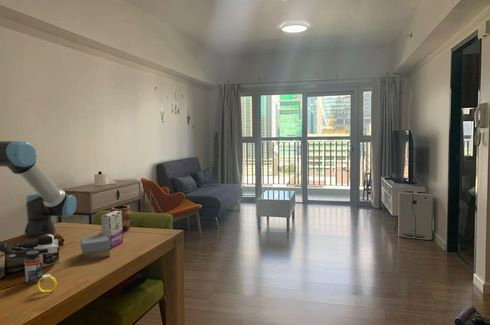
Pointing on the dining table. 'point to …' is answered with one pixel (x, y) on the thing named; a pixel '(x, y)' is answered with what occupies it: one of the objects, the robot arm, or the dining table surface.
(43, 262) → the medicine bottle
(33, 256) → the supplement bottle
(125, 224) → the decorative planter
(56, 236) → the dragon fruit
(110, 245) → the candy bar box
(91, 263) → the dining table surface
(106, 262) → the dining table surface
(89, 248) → the slate block
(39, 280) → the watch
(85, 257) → the clear shallow container
